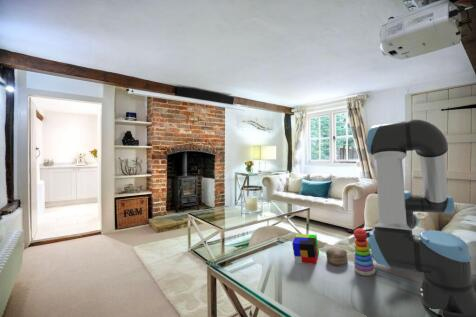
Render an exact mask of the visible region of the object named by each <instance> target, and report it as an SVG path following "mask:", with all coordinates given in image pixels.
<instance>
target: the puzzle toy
mask: <svg viewBox="0 0 476 317" xmlns="http://www.w3.org/2000/svg"><path fill="white" fill-rule="evenodd" d="M318 242H319V241H318V237H317V234H307V233H306V234H305V233H297V234H296V235H295V237H294V239H293V241H292V243H291V245H292V250H293V251H292V252H293V257H294V262H295V263H297V264H298V263H299V264H309V263H311V264H312V265H317V263H318V259H319V254H320V249H319V244H318Z"/></svg>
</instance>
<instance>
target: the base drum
mask: <svg viewBox="0 0 476 317" xmlns="http://www.w3.org/2000/svg"><path fill="white" fill-rule="evenodd" d="M325 254H326V261H327V263H328V264H329V265H331V266H334V267H342V266H345V265H347V264H348V262H349V260H348V254H347V250H345V249H344V248H341V247H331V248H329V249H327V250H326V251H325Z"/></svg>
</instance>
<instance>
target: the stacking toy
mask: <svg viewBox="0 0 476 317" xmlns="http://www.w3.org/2000/svg"><path fill="white" fill-rule="evenodd" d="M364 229H365V228H360V227H359V228H356V229H355V230H353V235H354V237H355V238H356V240H355V242H354V261H353V262H354V263H353V264H354V271H355V273H357V274H359V275H362V276H364V277H365V276H366V277H367V276H368V277H370V276H372V275H375V273H376V267H375V264H374V258H373V255H372V252H371V248H370V245H369V241H368V240H367V232H366V231H365V230H364Z"/></svg>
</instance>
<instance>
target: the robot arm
mask: <svg viewBox="0 0 476 317" xmlns="http://www.w3.org/2000/svg"><path fill="white" fill-rule="evenodd" d="M447 140H448V139H447V137H446V136H445V134H444V133H443V132H442V130H440V129H439V128H438V127H437V126H436V125H434V124H432V123H431V122H428V121H426V120H424V119H422V120H421V119H410V120H403V121H397V122H390V123H381V124H377V125H373V126H371V127H370V128H369V129H368V131H367V134H366V150H367V154H369V155H371V158H372V159H373V160H374V161H375V163H376V166H375V167H376V184H377V186H376V187H377V209H378V211H377V212H378V214H377V215H378V222H377V223H376V224H374V226H370V227H367V228H363V229H364V230H365V231H366V232H367V238H368V239H369V241H368V242H369V249H370V251H371V255H372V259H373V261H375V262H376V264H378V265H380V266H385V267H389V268H396V269H399V270H407V271H412V272H416V273H417V272H418V273H421V274H422V273H423V275H424V278H423V281H422V284H421V286H420V289H419V296H420V297H419V298H420V300H421V302H422V304H423V306H424V307H425V308H427V307H428V308H431V309H442V311H443V316H444V317H476V291H475V289H474V287H473V286H474V285H473V278H472V268H471V267H472V266H471V260H472V257H471V254H470V249H469V245H468V244H467V243H466V242H465V240H464V239H462V238H460V237H458V236H456V235H454V234H453V233H449V232H445V231H442V230H434V229H429V230H423V231H421V232H420V233H419V235H415V234H413V229H415V228H416V227H417V226H418V225H419V218H418V217H417V215H416V214H414V212H419V213H434V214H453V213H454V212H455V202H454V200H455V199H454V197H453V196H452V195H448V187H447V172H446V171H447V170H446V167H447V166H446V156H445V155H446V154H447V152H448V150H449V145H448V141H447ZM410 151H411V152H412V151H415V154H416V155H417V156H418V157H419V162H420V169H421V170H420V171H421V177H422V178H421V179H422V184H423V185H422V186H423V192H424V195H418V194H417V195H414V194H413V195H412V192H411V191H409V190H405V185H404V181H405V180H404V168H403V160H404V159H405V158H406V157H407V155H408V154H407V152H410ZM367 238H366V239H367ZM347 240H348V244H349V245H353V243H354V244H355V240H356V238H355V237H354V234H352V235H351V236H350V237H348V239H347ZM428 308H427V309H428Z"/></svg>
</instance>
